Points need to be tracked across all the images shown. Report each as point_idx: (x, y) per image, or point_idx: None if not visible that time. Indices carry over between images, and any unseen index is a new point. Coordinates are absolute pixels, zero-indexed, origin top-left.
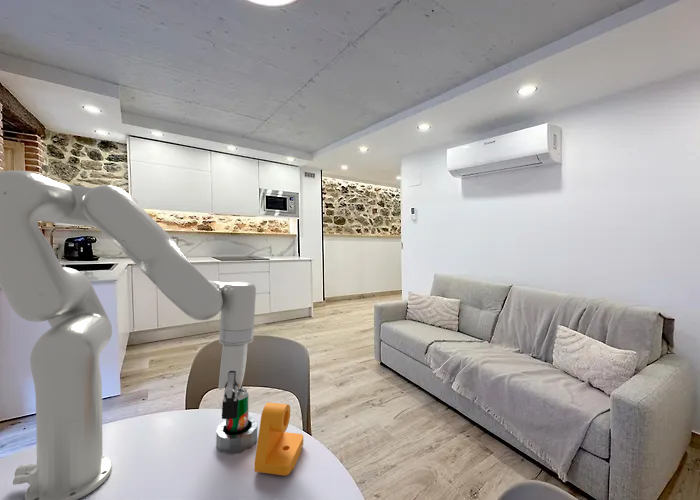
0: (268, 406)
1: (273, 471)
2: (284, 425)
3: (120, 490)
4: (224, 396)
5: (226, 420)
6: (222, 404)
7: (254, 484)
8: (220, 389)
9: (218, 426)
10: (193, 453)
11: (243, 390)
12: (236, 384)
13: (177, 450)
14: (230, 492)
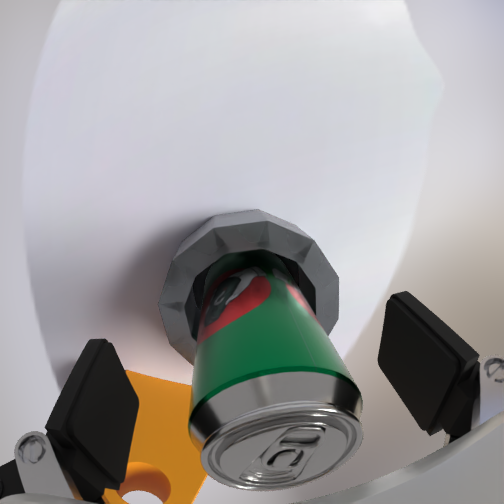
0: None
1: None
2: (143, 489)
3: (59, 25)
4: (22, 470)
5: (222, 295)
6: (55, 405)
7: (70, 361)
8: (18, 495)
9: (264, 222)
10: (184, 137)
11: (299, 476)
12: (427, 399)
13: (210, 71)
14: (40, 314)
